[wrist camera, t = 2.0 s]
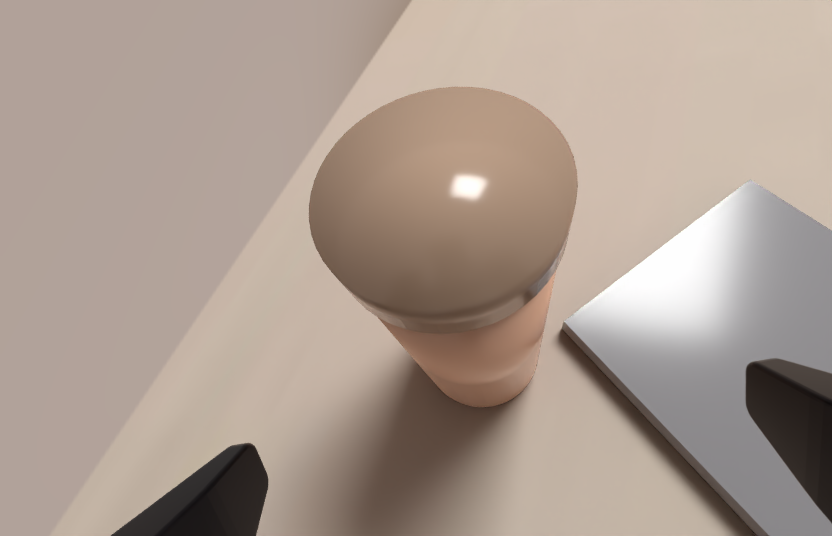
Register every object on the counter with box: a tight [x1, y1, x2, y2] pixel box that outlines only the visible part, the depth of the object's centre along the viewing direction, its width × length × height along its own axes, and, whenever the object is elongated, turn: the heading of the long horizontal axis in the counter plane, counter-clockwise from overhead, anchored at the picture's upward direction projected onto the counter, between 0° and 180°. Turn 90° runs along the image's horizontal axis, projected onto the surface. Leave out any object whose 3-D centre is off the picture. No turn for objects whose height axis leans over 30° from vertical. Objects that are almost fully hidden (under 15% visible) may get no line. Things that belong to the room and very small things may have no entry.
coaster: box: [562, 180, 832, 536], centre depth 16 cm, size 11×11×1 cm
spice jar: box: [309, 87, 578, 407], centre depth 14 cm, size 5×5×12 cm
